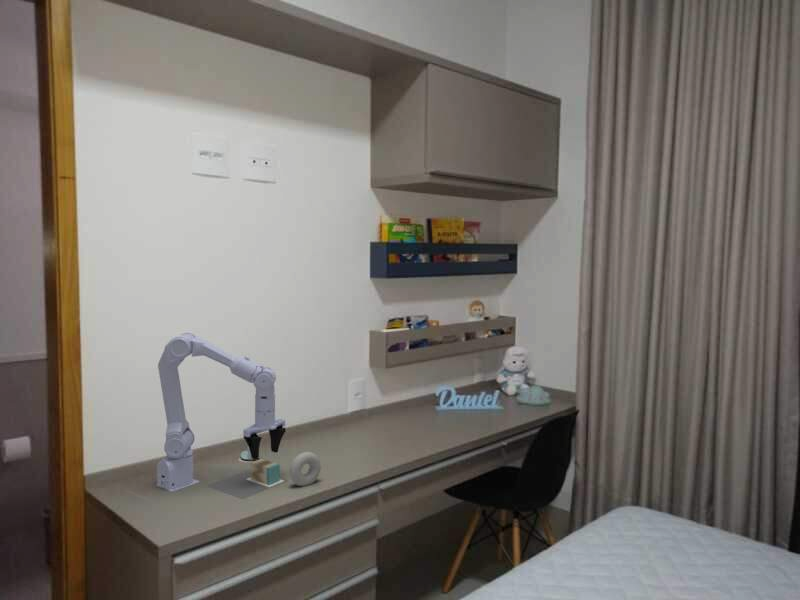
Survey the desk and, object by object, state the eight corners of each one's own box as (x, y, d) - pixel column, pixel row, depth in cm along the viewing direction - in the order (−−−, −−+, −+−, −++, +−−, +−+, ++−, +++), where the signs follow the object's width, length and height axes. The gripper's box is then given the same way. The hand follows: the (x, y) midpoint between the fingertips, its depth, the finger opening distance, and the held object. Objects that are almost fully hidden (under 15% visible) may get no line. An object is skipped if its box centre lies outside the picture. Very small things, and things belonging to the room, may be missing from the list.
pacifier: (246, 466, 189) (262, 461, 193) (245, 447, 188) (261, 442, 193) (234, 461, 194) (249, 456, 198) (233, 442, 193) (249, 438, 198)
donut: (316, 480, 177) (316, 447, 177) (323, 483, 175) (323, 450, 174) (287, 488, 171) (287, 454, 170) (293, 491, 168) (293, 457, 168)
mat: (242, 501, 161) (242, 498, 161) (206, 487, 170) (206, 485, 170) (288, 482, 175) (288, 480, 175) (252, 470, 184) (252, 468, 184)
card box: (250, 479, 176) (250, 462, 175) (261, 475, 179) (261, 458, 178) (269, 485, 171) (269, 468, 171) (279, 481, 174) (279, 464, 174)
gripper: (255, 417, 165) (255, 464, 166) (292, 407, 177) (292, 451, 178) (238, 413, 169) (238, 459, 170) (276, 403, 181) (276, 446, 182)
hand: (264, 455), depth 174 cm, fingers open, 7 cm apart
